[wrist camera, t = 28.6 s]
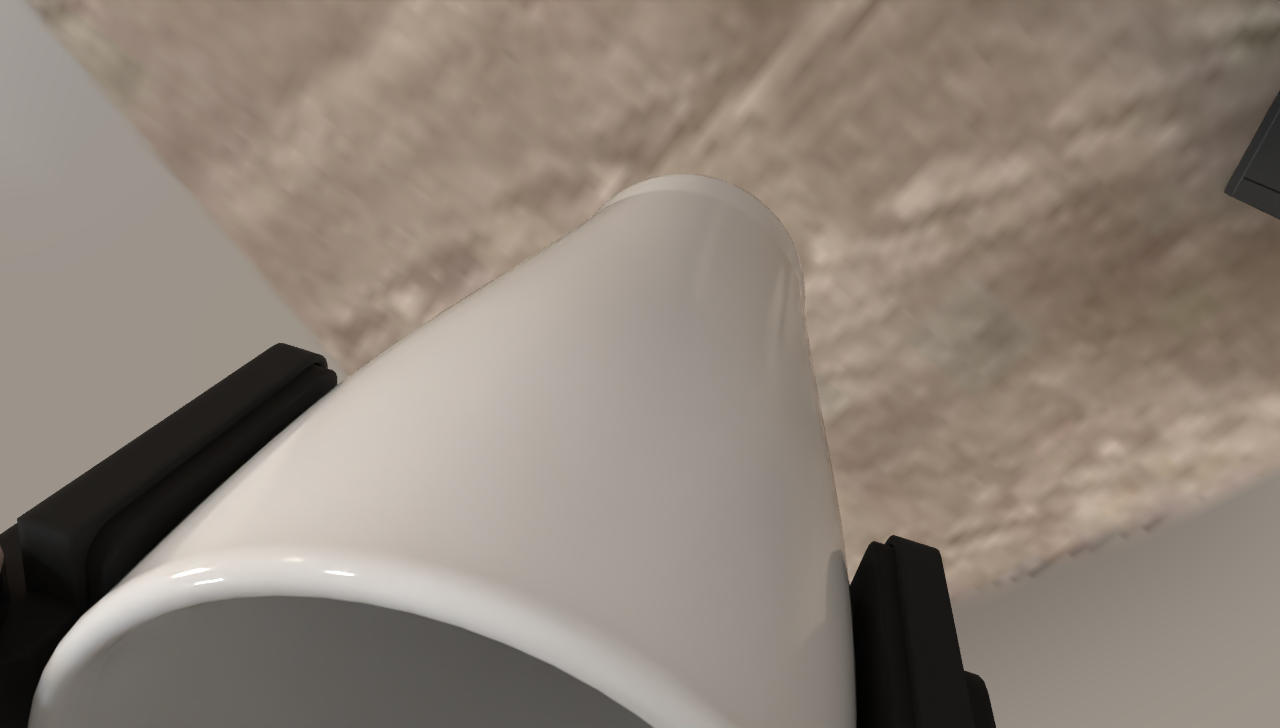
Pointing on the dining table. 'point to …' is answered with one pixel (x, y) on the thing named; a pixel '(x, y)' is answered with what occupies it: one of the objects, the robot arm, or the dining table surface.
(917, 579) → the robot arm
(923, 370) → the dining table surface
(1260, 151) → the tote
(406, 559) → the drinking glass
